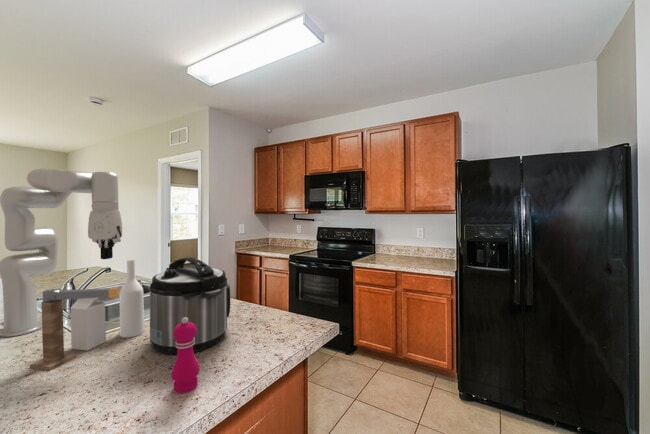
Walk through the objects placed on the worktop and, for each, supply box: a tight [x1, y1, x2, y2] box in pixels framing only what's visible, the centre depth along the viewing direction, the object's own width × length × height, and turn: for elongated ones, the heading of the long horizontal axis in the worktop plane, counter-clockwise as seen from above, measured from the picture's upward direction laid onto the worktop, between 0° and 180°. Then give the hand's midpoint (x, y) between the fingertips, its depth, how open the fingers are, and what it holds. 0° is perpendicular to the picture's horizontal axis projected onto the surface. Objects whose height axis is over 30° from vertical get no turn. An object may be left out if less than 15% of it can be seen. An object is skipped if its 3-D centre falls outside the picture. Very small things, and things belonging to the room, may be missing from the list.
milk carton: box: [70, 298, 107, 352], centre depth 108 cm, size 7×7×19 cm
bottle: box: [118, 258, 145, 338], centre depth 118 cm, size 8×8×30 cm
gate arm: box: [42, 286, 121, 302], centre depth 97 cm, size 21×4×3 cm, turn 101°
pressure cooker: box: [149, 257, 231, 355], centre depth 113 cm, size 30×28×32 cm
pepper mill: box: [170, 317, 200, 394], centre depth 83 cm, size 7×7×20 cm
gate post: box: [29, 299, 77, 371], centre depth 96 cm, size 8×8×20 cm
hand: (106, 258), depth 104 cm, fingers closed
